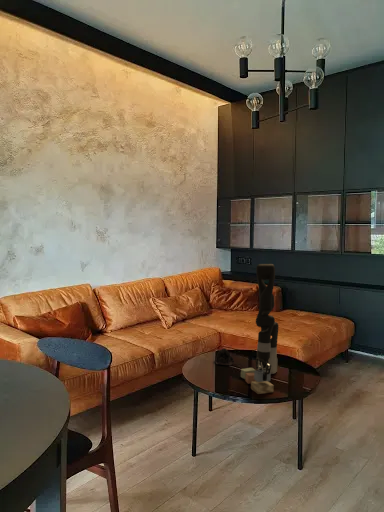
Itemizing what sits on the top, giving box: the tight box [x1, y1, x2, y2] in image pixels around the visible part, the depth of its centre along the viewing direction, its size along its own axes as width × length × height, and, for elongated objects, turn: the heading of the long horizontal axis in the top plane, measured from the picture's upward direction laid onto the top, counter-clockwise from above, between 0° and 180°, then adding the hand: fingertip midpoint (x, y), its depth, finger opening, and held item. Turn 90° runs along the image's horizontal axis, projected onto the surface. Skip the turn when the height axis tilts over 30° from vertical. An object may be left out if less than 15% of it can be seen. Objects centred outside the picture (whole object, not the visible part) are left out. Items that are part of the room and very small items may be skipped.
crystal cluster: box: [214, 348, 235, 366], centre depth 270 cm, size 13×14×10 cm
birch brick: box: [250, 381, 275, 395], centre depth 224 cm, size 10×8×4 cm
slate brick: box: [254, 369, 272, 382], centre depth 223 cm, size 8×4×5 cm, turn 108°
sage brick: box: [240, 367, 257, 380], centre depth 244 cm, size 8×4×5 cm, turn 116°
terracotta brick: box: [244, 373, 256, 385], centre depth 236 cm, size 8×4×5 cm, turn 102°
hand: (262, 378), depth 223 cm, fingers closed on slate brick, 4 cm apart
